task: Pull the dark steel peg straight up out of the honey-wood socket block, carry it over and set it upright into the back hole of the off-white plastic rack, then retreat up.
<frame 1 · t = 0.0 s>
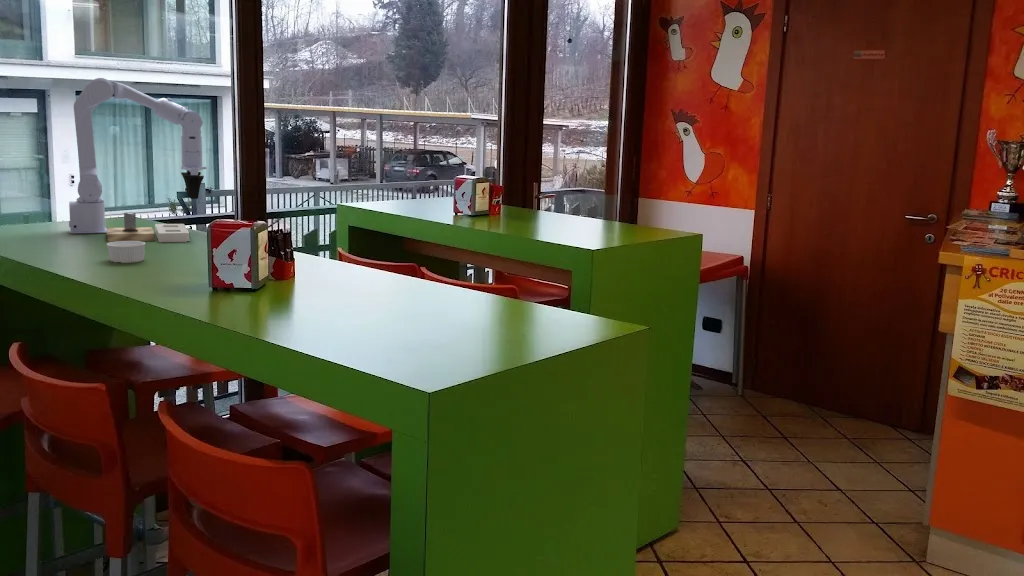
hand: (192, 197, 273), 10 cm above the table, fingers open, 7 cm apart
ramekin: (126, 261, 225), on the table
steel peg: (130, 225, 256), in the socket block
tool rack: (171, 237, 261), on the table
socket block: (130, 237, 257), on the table
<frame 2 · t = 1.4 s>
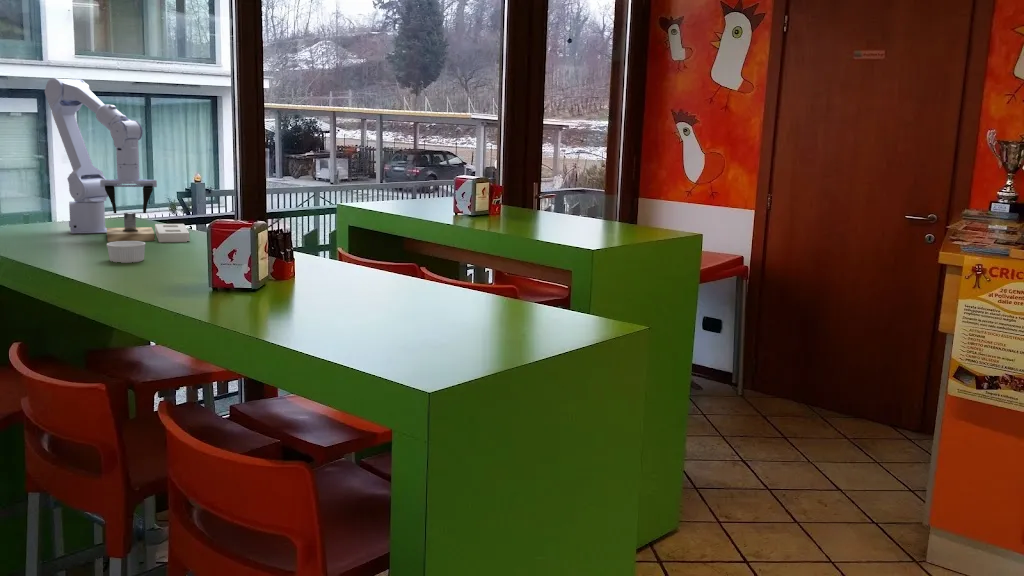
hand: (129, 212, 255), 7 cm above the table, fingers open, 7 cm apart
nothing on the table moved.
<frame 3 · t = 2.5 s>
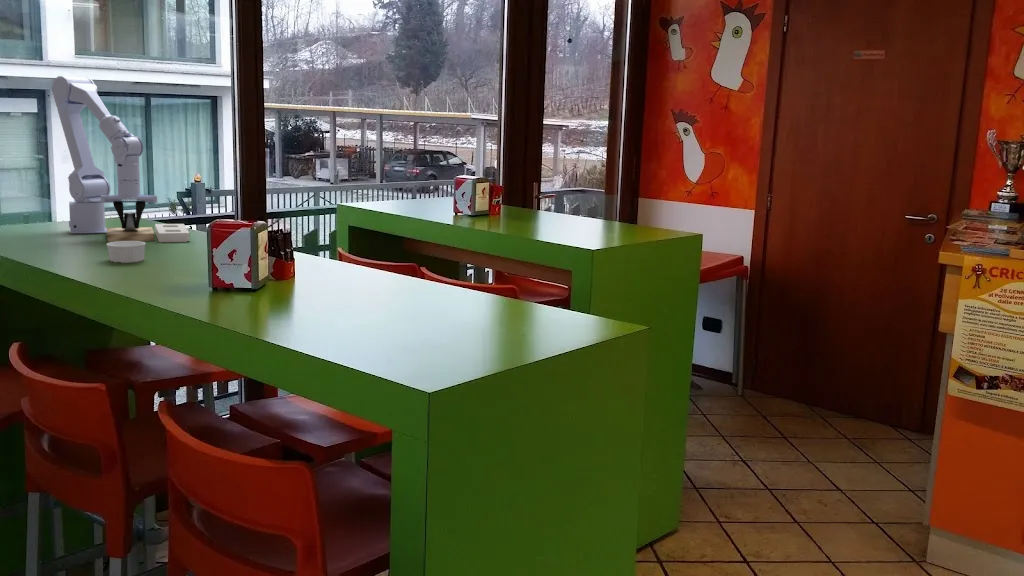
hand: (130, 228, 256), 3 cm above the table, fingers closed on steel peg, 3 cm apart
steel peg: (130, 225, 256), in the socket block, touching gripper
everything else where it was.
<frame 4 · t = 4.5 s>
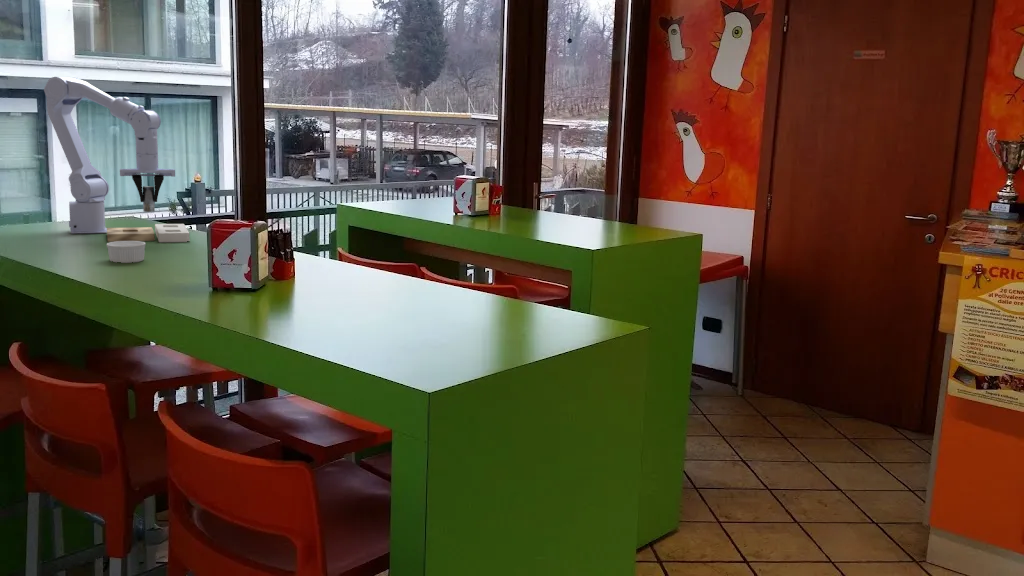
hand: (148, 201, 259), 10 cm above the table, fingers closed on steel peg, 3 cm apart
steel peg: (148, 199, 258), point 11 cm above the table, touching gripper
everything else where it was.
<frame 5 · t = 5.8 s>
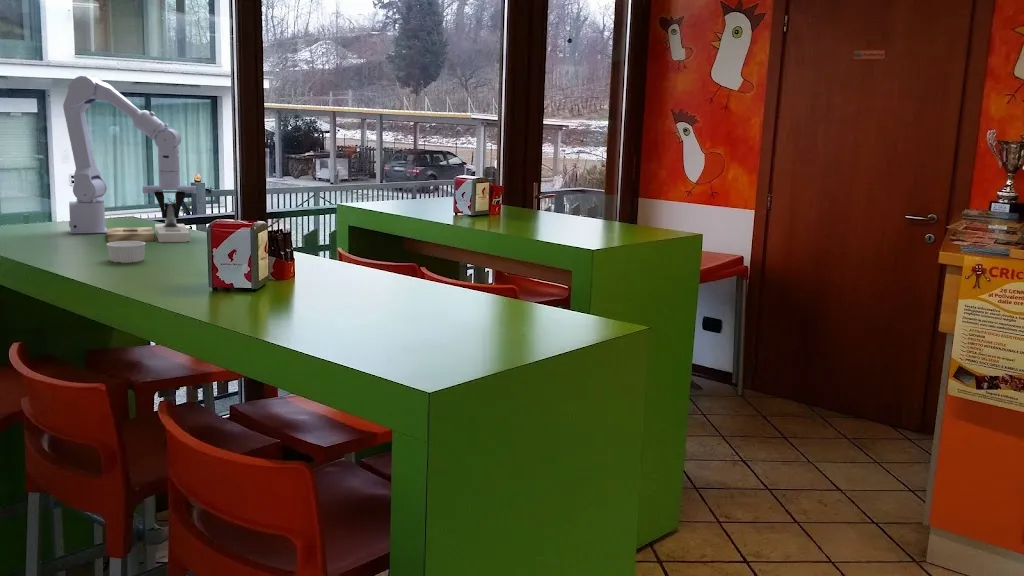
hand: (170, 217, 264), 5 cm above the table, fingers closed on steel peg, 3 cm apart
steel peg: (170, 215, 264), point 6 cm above the table, touching gripper
everything else where it was.
when the fingers open (4 cm above the table, at t = 6.8 s): steel peg drops 1 cm, resting in tool rack.
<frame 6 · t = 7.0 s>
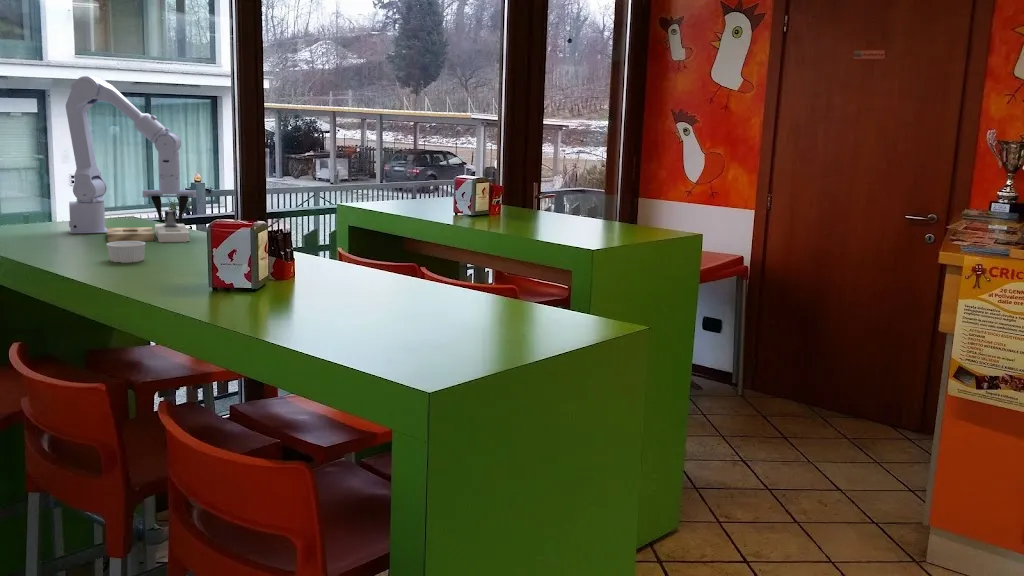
hand: (170, 222, 264), 4 cm above the table, fingers open, 5 cm apart
steel peg: (170, 222, 264), in the tool rack
everything else where it was.
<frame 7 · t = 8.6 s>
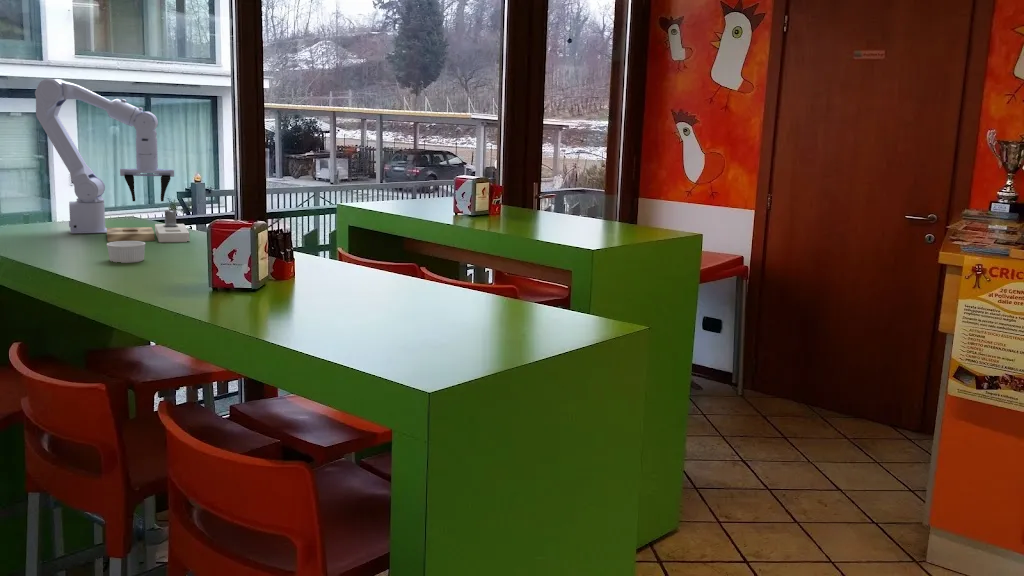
hand: (148, 201, 265), 9 cm above the table, fingers open, 7 cm apart
nothing on the table moved.
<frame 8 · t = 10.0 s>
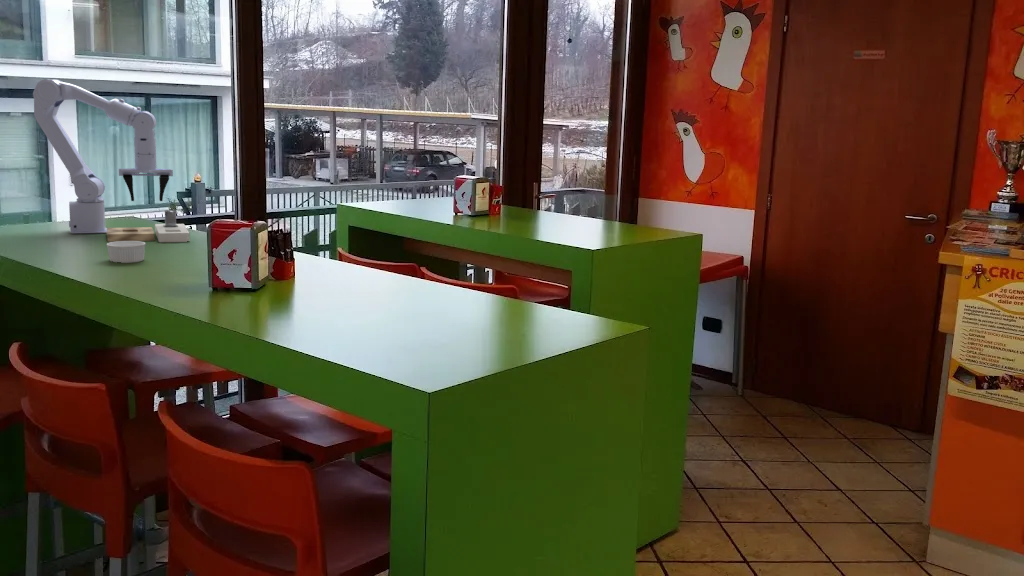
hand: (146, 200, 265), 9 cm above the table, fingers open, 7 cm apart
nothing on the table moved.
at the end: steel peg 0.2 cm from the target spot on the tool rack, point 3.5 cm above the tool rack's base; steel peg tilted 0°; the gripper is holding nothing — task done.
